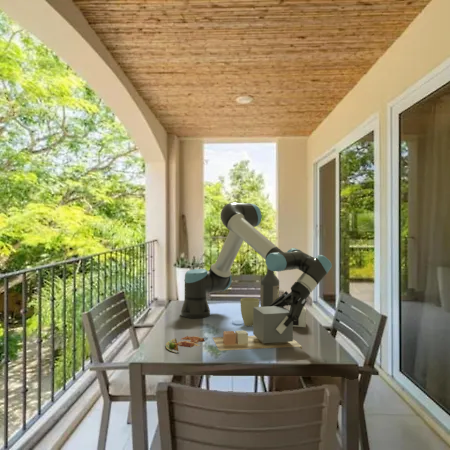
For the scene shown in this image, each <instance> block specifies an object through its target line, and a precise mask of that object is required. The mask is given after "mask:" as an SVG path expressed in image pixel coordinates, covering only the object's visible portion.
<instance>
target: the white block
mask: <svg viewBox="0 0 450 450" xmlns="http://www.w3.org/2000/svg"><path fill="white" fill-rule="evenodd" d="M234 332H235V334H236V343H237V344H248V336H249V333H248V331H246V330H235V331H234Z"/></svg>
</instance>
